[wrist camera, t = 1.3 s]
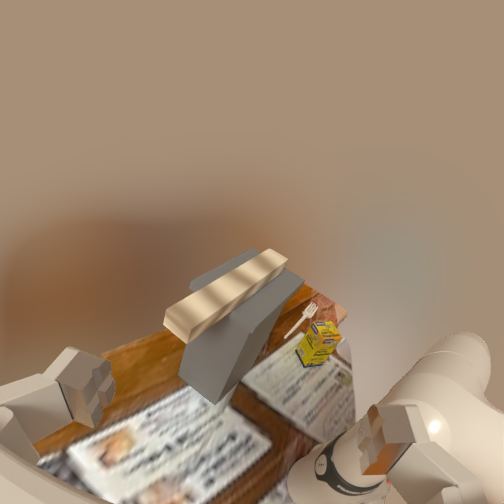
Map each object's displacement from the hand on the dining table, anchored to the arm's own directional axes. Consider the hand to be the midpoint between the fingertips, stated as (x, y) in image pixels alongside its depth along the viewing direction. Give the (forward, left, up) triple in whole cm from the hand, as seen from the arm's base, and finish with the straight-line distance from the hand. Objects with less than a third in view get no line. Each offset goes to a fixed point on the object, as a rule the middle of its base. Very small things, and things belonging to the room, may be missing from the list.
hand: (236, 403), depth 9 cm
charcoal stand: (-6, -38, -47) cm, 61 cm away
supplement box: (-29, -49, -47) cm, 74 cm away
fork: (-28, -62, -48) cm, 83 cm away
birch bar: (-3, -33, -21) cm, 39 cm away
